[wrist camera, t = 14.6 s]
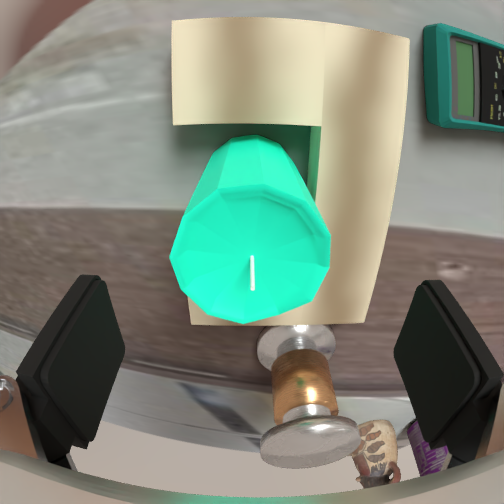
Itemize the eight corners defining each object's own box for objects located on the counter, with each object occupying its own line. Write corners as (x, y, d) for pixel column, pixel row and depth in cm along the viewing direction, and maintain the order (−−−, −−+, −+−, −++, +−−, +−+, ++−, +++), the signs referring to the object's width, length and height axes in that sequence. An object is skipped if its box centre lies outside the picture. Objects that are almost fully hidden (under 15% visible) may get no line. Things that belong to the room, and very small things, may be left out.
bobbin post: (339, 312, 27) (373, 422, 17) (326, 365, 30) (347, 463, 21) (258, 314, 27) (262, 431, 17) (256, 367, 30) (258, 470, 20)
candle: (202, 215, 22) (164, 342, 12) (209, 129, 19) (160, 190, 9) (288, 225, 23) (318, 355, 12) (303, 141, 20) (365, 215, 9)
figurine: (335, 437, 39) (348, 511, 28) (376, 414, 36) (397, 492, 26) (361, 445, 41) (375, 511, 31) (400, 424, 38) (420, 492, 28)
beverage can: (438, 425, 40) (459, 483, 30) (400, 435, 41) (418, 498, 30) (452, 402, 37) (479, 466, 26) (412, 414, 37) (435, 484, 27)
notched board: (389, 42, 16) (409, 38, 13) (354, 298, 26) (363, 322, 23) (182, 29, 16) (171, 20, 13) (196, 299, 26) (191, 324, 23)
